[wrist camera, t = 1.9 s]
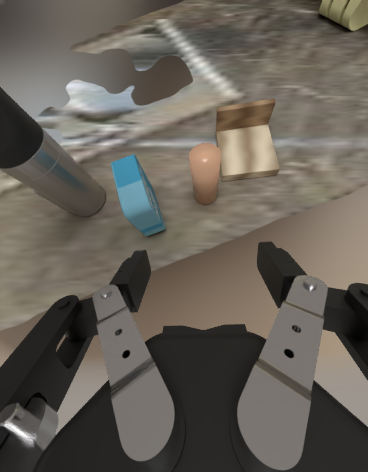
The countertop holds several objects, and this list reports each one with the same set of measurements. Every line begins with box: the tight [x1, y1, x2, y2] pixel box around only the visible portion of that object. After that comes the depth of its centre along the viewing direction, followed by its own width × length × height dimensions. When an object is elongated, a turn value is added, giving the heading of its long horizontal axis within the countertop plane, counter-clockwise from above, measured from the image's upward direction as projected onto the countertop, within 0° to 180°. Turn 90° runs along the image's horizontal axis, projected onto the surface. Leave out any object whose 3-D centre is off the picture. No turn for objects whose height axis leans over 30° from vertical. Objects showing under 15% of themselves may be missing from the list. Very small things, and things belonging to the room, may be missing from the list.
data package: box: [111, 154, 166, 236], centre depth 34 cm, size 12×4×12 cm, turn 19°
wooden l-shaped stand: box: [216, 99, 279, 181], centre depth 38 cm, size 12×14×7 cm
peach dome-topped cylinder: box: [189, 143, 221, 205], centre depth 34 cm, size 5×5×12 cm
